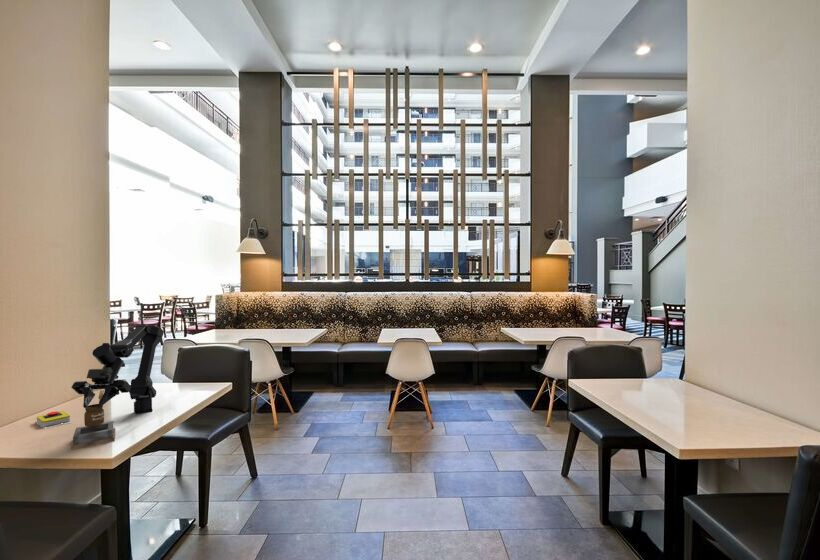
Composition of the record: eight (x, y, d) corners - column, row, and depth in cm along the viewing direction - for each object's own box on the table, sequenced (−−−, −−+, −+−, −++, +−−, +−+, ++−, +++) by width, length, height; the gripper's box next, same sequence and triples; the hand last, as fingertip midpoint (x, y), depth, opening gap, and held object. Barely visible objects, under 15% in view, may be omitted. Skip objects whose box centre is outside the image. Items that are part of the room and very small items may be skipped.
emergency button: (62, 407, 178) (72, 413, 169) (63, 416, 178) (72, 423, 169) (34, 412, 170) (43, 419, 162) (35, 423, 170) (43, 430, 162)
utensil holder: (80, 426, 147) (79, 394, 147) (96, 420, 154) (95, 389, 154) (93, 427, 146) (92, 395, 146) (109, 421, 153) (108, 390, 152)
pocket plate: (115, 430, 158) (114, 420, 158) (114, 440, 148) (114, 429, 148) (74, 438, 151) (74, 427, 151) (71, 449, 141) (71, 437, 141)
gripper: (74, 360, 153) (52, 398, 142) (125, 359, 155) (108, 395, 144) (89, 375, 161) (69, 412, 150) (138, 374, 163) (121, 409, 152)
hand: (91, 407), depth 149 cm, fingers closed on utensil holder, 5 cm apart
